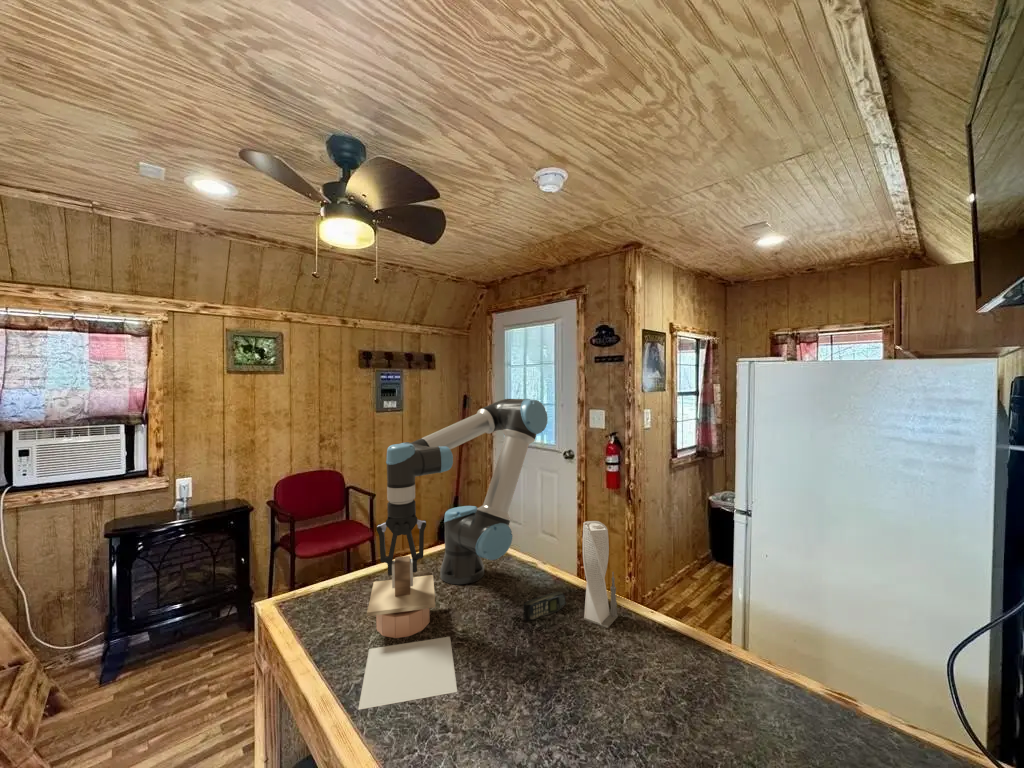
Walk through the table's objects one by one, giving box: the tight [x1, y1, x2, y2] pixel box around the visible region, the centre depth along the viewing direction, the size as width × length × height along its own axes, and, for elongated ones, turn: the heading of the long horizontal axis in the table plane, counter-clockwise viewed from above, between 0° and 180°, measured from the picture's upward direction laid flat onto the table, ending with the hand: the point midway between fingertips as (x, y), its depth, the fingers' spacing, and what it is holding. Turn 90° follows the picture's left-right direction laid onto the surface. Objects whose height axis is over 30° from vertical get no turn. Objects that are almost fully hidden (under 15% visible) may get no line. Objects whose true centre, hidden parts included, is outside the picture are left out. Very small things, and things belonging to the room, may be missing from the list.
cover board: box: [366, 555, 436, 617], centre depth 115 cm, size 17×17×10 cm
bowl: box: [375, 608, 431, 639], centre depth 115 cm, size 14×14×6 cm
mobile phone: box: [522, 590, 567, 622], centre depth 120 cm, size 5×3×15 cm
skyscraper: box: [582, 520, 619, 629], centre depth 116 cm, size 8×8×28 cm
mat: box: [358, 636, 458, 711], centre depth 96 cm, size 20×20×1 cm
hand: (402, 584), depth 115 cm, fingers closed on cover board, 4 cm apart
